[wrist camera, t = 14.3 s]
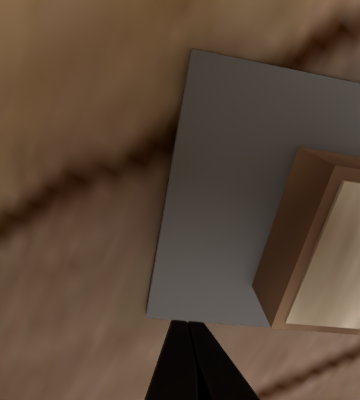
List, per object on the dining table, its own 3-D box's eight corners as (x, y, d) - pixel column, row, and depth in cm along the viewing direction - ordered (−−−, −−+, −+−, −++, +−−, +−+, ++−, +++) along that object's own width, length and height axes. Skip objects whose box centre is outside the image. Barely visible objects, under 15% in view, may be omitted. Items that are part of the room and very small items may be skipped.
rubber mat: (146, 310, 17) (145, 317, 17) (190, 49, 12) (192, 48, 12) (384, 329, 20) (391, 336, 19) (509, 115, 14) (524, 117, 14)
